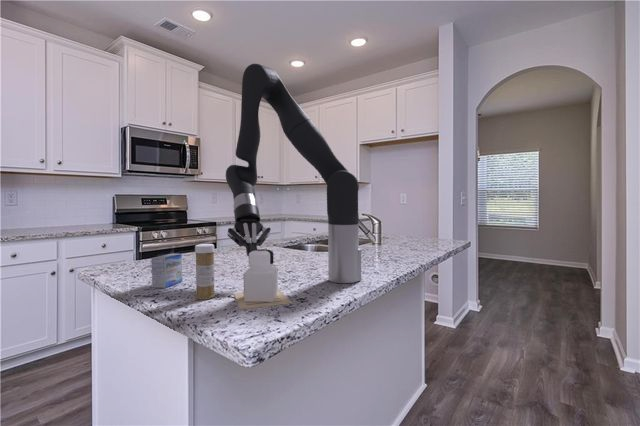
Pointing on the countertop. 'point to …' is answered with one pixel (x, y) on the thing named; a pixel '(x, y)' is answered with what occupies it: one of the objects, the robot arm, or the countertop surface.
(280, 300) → the letter
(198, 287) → the sprinkles bottle
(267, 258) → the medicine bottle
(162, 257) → the medicine box
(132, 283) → the countertop surface
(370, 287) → the countertop surface
